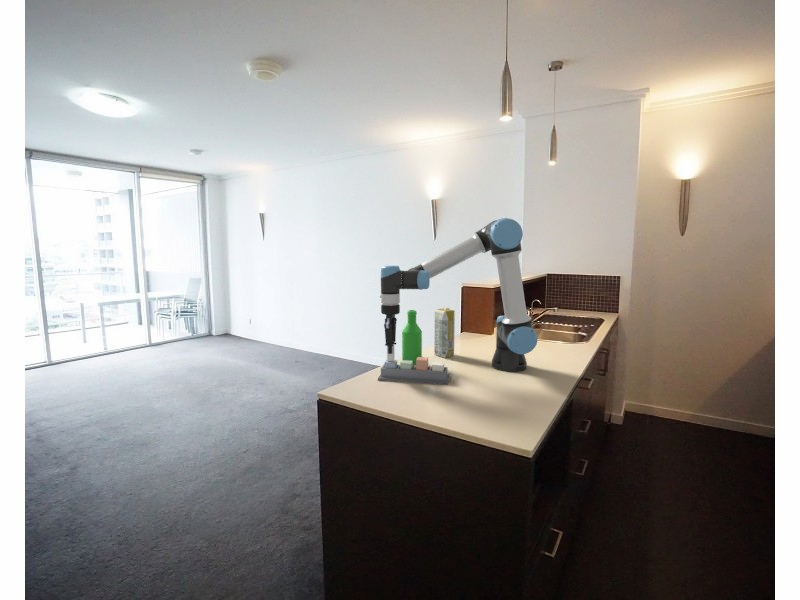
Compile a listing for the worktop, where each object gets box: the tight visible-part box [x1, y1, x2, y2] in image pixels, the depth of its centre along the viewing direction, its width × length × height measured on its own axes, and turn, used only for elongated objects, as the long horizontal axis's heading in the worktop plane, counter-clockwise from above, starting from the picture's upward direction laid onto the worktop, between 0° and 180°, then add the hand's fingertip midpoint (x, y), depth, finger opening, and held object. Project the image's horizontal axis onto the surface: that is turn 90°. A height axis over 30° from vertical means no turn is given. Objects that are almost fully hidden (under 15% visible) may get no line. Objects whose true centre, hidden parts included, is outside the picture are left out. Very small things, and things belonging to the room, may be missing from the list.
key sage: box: [399, 360, 413, 370], centre depth 166 cm, size 4×4×5 cm
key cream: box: [431, 361, 445, 371], centre depth 163 cm, size 4×4×5 cm
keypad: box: [377, 363, 451, 386], centre depth 165 cm, size 28×11×4 cm, turn 79°
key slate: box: [384, 359, 398, 369], centre depth 167 cm, size 4×4×5 cm
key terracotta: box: [416, 356, 429, 371], centre depth 164 cm, size 4×4×5 cm
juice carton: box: [433, 306, 456, 359], centre depth 197 cm, size 9×8×24 cm
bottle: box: [401, 309, 423, 365], centre depth 182 cm, size 9×9×25 cm
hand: (390, 360), depth 167 cm, fingers closed
